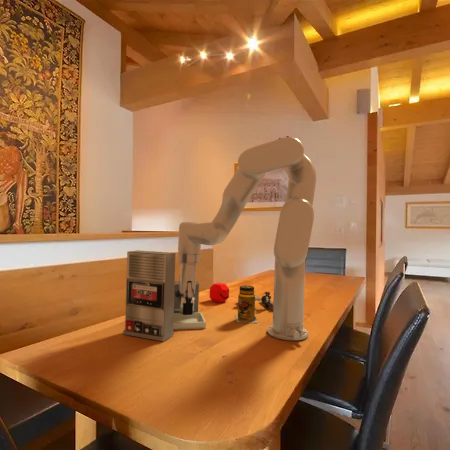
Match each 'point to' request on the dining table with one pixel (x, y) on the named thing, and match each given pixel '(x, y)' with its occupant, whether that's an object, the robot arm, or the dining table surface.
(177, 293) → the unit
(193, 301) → the cylinder
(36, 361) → the dining table surface
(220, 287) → the ball
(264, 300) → the valve
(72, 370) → the dining table surface
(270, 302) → the valve rest
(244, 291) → the condiment
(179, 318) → the tray
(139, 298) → the cassette tape recorder
